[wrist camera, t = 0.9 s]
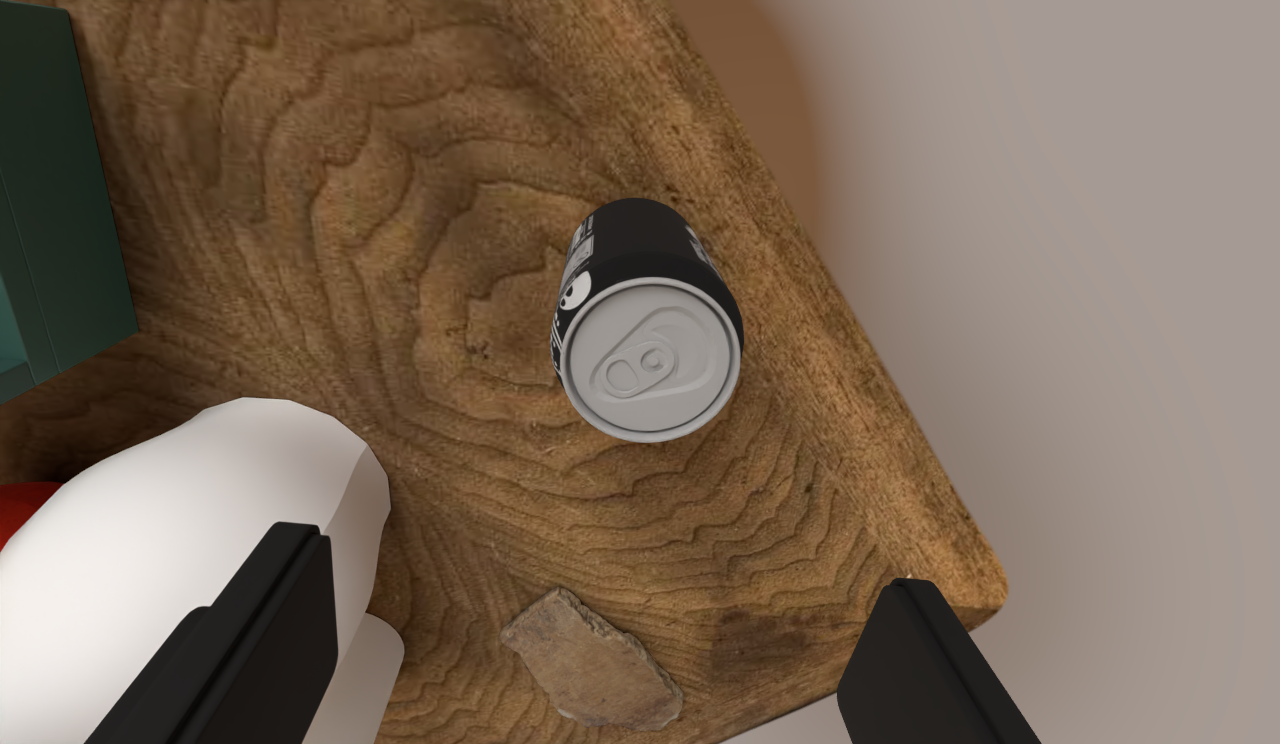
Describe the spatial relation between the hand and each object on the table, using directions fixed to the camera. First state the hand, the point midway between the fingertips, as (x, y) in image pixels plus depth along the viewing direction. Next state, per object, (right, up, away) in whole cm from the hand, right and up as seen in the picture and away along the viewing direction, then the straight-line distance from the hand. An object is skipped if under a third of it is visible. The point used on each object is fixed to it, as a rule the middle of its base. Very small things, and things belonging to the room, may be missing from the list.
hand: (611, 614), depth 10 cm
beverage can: (0, +10, +19) cm, 22 cm away
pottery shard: (-2, -16, +32) cm, 36 cm away
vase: (-20, -2, +24) cm, 32 cm away
